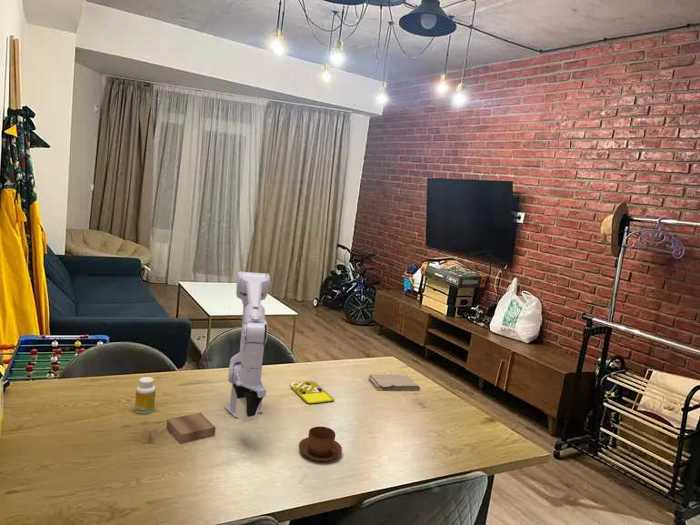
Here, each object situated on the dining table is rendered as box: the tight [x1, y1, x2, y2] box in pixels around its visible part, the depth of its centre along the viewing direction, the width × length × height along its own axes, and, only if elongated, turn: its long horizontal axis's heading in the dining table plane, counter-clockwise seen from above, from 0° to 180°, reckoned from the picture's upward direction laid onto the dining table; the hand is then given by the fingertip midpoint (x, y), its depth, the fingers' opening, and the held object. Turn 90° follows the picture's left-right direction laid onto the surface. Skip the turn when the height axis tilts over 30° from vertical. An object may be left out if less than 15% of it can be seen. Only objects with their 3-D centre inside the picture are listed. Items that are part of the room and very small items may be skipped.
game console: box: [289, 380, 335, 406], centre depth 184 cm, size 18×11×2 cm, turn 31°
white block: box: [235, 397, 259, 423], centre depth 143 cm, size 4×4×5 cm
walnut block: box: [166, 412, 216, 445], centre depth 146 cm, size 10×10×3 cm
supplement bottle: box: [134, 376, 156, 415], centre depth 155 cm, size 5×5×10 cm
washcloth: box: [367, 374, 421, 392], centre depth 201 cm, size 12×18×3 cm, turn 108°
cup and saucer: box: [298, 426, 343, 462], centre depth 143 cm, size 12×12×6 cm
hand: (246, 411), depth 143 cm, fingers closed on white block, 4 cm apart
